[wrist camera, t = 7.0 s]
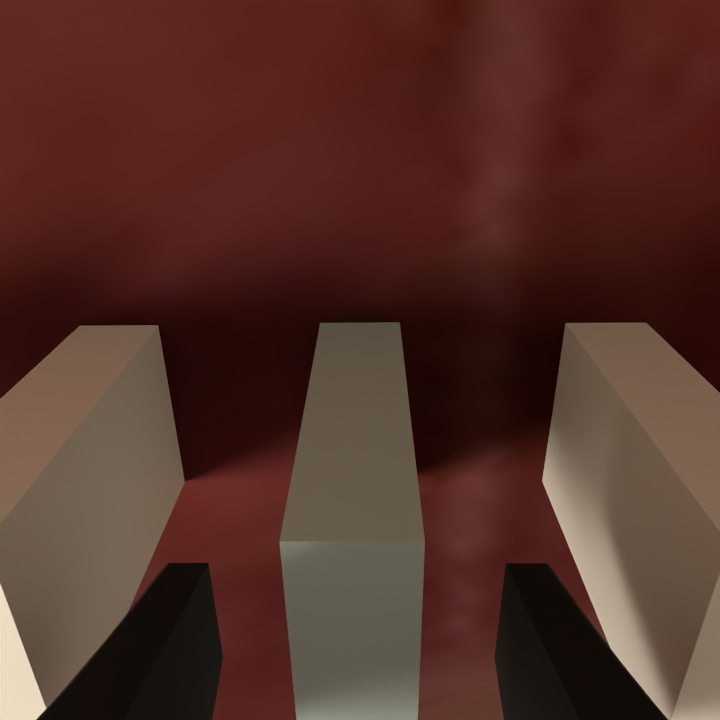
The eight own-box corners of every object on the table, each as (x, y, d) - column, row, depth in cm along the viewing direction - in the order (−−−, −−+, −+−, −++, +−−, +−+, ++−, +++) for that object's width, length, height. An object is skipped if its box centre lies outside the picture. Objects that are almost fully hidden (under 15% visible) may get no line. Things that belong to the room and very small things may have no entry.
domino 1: (158, 324, 14) (-14, 543, 8) (184, 481, 16) (64, 757, 10) (79, 325, 14) (-156, 542, 8) (115, 481, 16) (-50, 757, 10)
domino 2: (399, 322, 14) (424, 541, 8) (397, 479, 16) (416, 758, 10) (320, 322, 14) (279, 541, 8) (327, 480, 16) (300, 757, 10)
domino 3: (645, 322, 14) (877, 544, 7) (612, 481, 16) (774, 762, 9) (565, 322, 14) (730, 544, 8) (542, 481, 16) (657, 761, 9)
